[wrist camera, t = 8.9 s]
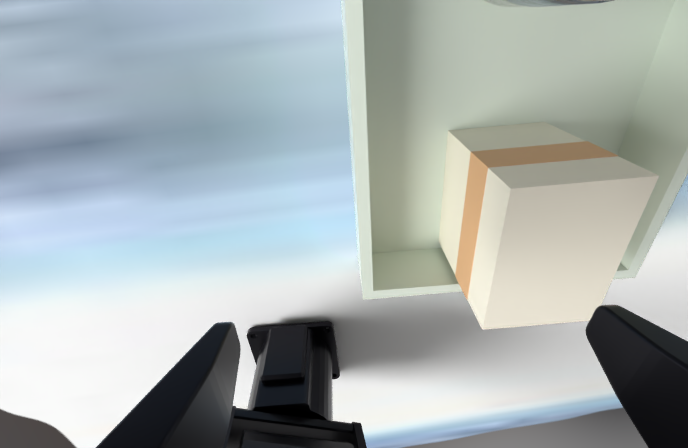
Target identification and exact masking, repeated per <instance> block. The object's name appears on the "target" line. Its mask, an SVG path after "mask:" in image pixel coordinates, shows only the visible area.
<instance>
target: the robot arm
mask: <svg viewBox="0 0 688 448" xmlns="http://www.w3.org/2000/svg"><path fill="white" fill-rule="evenodd" d="M586 336H587V339H588V341H589V343H590V345H591V346H592V348H593V350H594V352H595V354H596V356H597V358H598V360H599V362H600V364H601V366H602V368H603V370H604V372H605V374H606V376H607V378H608V380H609V382H610V384H611V386H612V388H613V390H614V392H615V394H616V395H617V397H618V399H619V401H620V402H621V404H622V406H623V408H624V409H625V411H626V412H627V414H628V415H629V417H630V419H631V420H632V422H633V424H634V425H635V427H636V428H637V430H638V431H639V433H640V435H641V436H642V438H643V440H644V441H645V443H646V444H647V446H648V448H688V341H686V340H684V339H682V338H680V337H678V336H676V335H674V334H672V333H670V332H668V331H666V330H665V329H663V328H661V327H659V326H657V325H655V324H653V323H651V322H649V321H647V320H645V319H643V318H642V317H640V316H638V315H636V314H634V313H632V312H630V311H628V310H626V309H624V308H622V307H620V306H618V305H601V306H599V307H597V308H596V309H595V311H594V313H593V315H592V317H591V319H590V321H589V323H588V325H587V327H586ZM247 339H248V341H249V344H250V347H251V350H252V353H253V356H254V359H255V362H256V365H257V366H256V371H255V375H254V380H253V385H252V390H251V394H250V399H249V404H248V409H240V408H236V406H232V405H233V398H234V392H235V385H236V378H237V372H238V365H239V358H240V342H239V339H238V335H237V332H236V328H235V325H234V324H233V323H232V322H221V323H216V324H214V325H213V326H212V327H211V328H210V329H209V330H208V331H207V332H206V333H205V335H204V336H203V337H202V338H201V339H200V340H199V341H198V342H197V343H196V344H195V345H194V346H193V347H192V348H191V349H190V350H189V351H188V352H187V353H186V354H185V355H184V356H183V357H182V358H181V359H180V361H179V362H178V363H177V364H176V365H175V366H174V367H173V368H172V369H171V370H170V371H169V372H168V373H167V374H166V375H165V376H164V377H163V378H162V379H161V380H160V381H159V382H158V383H157V384H156V386H155V387H154V388H153V389H152V390H151V391H150V392H149V393H148V394H147V395H146V396H145V397H144V398H143V399H142V400H141V401H140V402H139V403H138V404H137V405H136V406H135V407H134V408H133V409H132V410H131V412H130V413H129V414H128V415H127V416H126V417H125V418H124V419H123V420H122V421H121V422H120V423H119V424H118V425H117V426H116V427H115V428H114V429H113V430H112V431H111V432H110V433H109V434H108V435H107V436H106V438H105V439H104V440H103V441H102V442H101V443H100V444H99V445H98V446H97V447H96V448H367V447H366V443H365V439H364V434H363V430H362V426H361V423H357V422H352V423H345V422H338V421H332V379H337V378H339V376H340V369H339V362H338V354H337V346H336V339H335V331H334V325H333V323H331V322H327V321H326V322H314V323H301V324H289V325H277V326H265V327H253V328H250V329H249V330H248V333H247Z"/></svg>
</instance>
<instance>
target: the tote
mask: <svg viewBox="0 0 688 448" xmlns="http://www.w3.org/2000/svg"><path fill="white" fill-rule="evenodd" d="M341 9H342V24H343V40H344V55H345V70H346V85H347V101H348V116H349V131H350V146H351V162H352V177H353V192H354V207H355V223H356V238H357V253H358V263H359V271H360V280H361V288H362V296H363V300H367V299H379V298H391V297H404V296H416V295H428V294H440V293H453V292H463V291H462V289H461V287H460V285H459V283H458V281H457V279H456V277H455V274H454V272H453V270H452V268H451V266H450V264H449V262H448V259H447V257H446V255H445V253H444V251H443V249H442V247H441V245H440V243H439V231H440V219H441V207H442V195H443V183H444V172H445V160H446V148H447V136H448V130H459V129H470V128H481V127H492V126H503V125H514V124H526V123H537V122H546V123H548V124H550V125H553V126H555V127H557V128H559V129H561V130H563V131H565V132H567V133H570V134H572V135H574V136H576V137H578V138H580V139H582V140H585V141H588V142H590V143H593V144H595V145H597V146H599V147H601V148H603V149H605V150H608V151H610V152H612V153H614V154H616V155H618V156H619V157H621V158H623V159H625V160H627V161H629V162H631V163H633V164H636V165H638V166H640V167H642V168H644V169H646V170H648V171H650V172H653V173H655V174H657V175H659V178H658V180H657V182H656V184H655V187H654V189H653V191H652V193H651V196H650V198H649V200H648V202H647V204H646V207H645V209H644V211H643V213H642V215H641V218H640V220H639V222H638V224H637V227H636V229H635V231H634V233H633V235H632V238H631V240H630V242H629V244H628V246H627V249H626V251H625V253H624V255H623V258H622V260H621V262H620V264H619V266H618V269H617V271H616V273H615V275H614V278H613V279H624V278H635V277H636V275H637V273H638V271H639V269H640V267H641V265H642V263H643V261H644V259H645V257H646V255H647V253H648V251H649V249H650V247H651V245H652V243H653V241H654V239H655V237H656V235H657V233H658V231H659V229H660V227H661V225H662V223H663V221H664V219H665V217H666V215H667V213H668V211H669V209H670V207H671V205H672V203H673V201H674V200H675V198H676V196H677V194H678V192H679V190H680V188H681V186H682V184H683V182H684V180H685V178H686V176H687V174H688V0H614V1H609V2H603V3H594V4H578V5H563V6H547V7H527V6H525V7H503V6H497V5H494V4H491V3H488V2H486V1H484V0H341Z"/></svg>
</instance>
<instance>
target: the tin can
mask: <svg viewBox="0 0 688 448" xmlns="http://www.w3.org/2000/svg"><path fill="white" fill-rule="evenodd" d="M484 1H486V2H488V3H491V4H494V5H497V6H503V7H525V6H527V7H547V6H563V5H578V4H594V3H603V2H609V1H614V0H484Z"/></svg>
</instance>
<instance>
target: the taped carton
mask: <svg viewBox="0 0 688 448" xmlns="http://www.w3.org/2000/svg"><path fill="white" fill-rule="evenodd" d="M658 178H659V175H657V174H655V173H653V172H650V171H648V170H646V169H644V168H642V167H640V166H638V165H636V164H633V163H631V162H629V161H627V160H625V159H623V158H621V157H619V156H618V155H616V154H614V153H612V152H610V151H608V150H605V149H603V148H601V147H599V146H597V145H595V144H593V143H590V142H588V141H585V140H582V139H580V138H578V137H576V136H574V135H572V134H570V133H567V132H565V131H563V130H561V129H559V128H557V127H555V126H553V125H550V124H548V123H546V122H537V123H526V124H514V125H503V126H492V127H481V128H470V129H459V130H448V136H447V148H446V160H445V172H444V183H443V195H442V207H441V219H440V231H439V243H440V245H441V247H442V249H443V251H444V253H445V255H446V257H447V259H448V262H449V264H450V266H451V268H452V270H453V272H454V274H455V277H456V279H457V281H458V283H459V285H460V287H461V289H462V291H463V293H464V295H465V297H466V299H467V300H468V302H469V304H470V306H471V308H472V310H473V312H474V314H475V316H476V318H477V320H478V322H479V324H480V326H481V328H482V330H487V329H499V328H511V327H522V326H534V325H546V324H558V323H570V322H582V321H590V319H591V317H592V315H593V313H594V311H595V309H596V308H597V307H599V306H601V304H602V302H603V300H604V297H605V295H606V293H607V291H608V289H609V286H610V284H611V282H612V280H613V278H614V275H615V273H616V271H617V269H618V266H619V264H620V262H621V260H622V258H623V255H624V253H625V251H626V249H627V246H628V244H629V242H630V240H631V238H632V235H633V233H634V231H635V229H636V227H637V224H638V222H639V220H640V218H641V215H642V213H643V211H644V209H645V207H646V204H647V202H648V200H649V198H650V196H651V193H652V191H653V189H654V187H655V184H656V182H657V180H658Z"/></svg>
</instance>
